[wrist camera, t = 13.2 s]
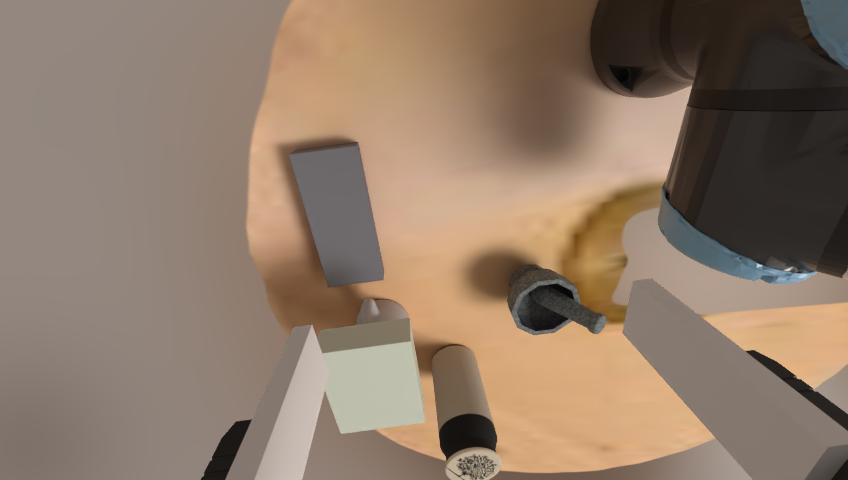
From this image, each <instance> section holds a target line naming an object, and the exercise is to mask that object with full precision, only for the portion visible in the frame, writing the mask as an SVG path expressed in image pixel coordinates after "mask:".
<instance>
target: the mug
mask: <svg viewBox="0 0 848 480" xmlns="http://www.w3.org/2000/svg"><path fill="white" fill-rule="evenodd" d="M404 318H409V316H408V314H407V311H406V310H405V309H404V307H402V306H401V305H400V304H398V303H396V302H394V301H391V300H385V299H381V300H375V301H374V300H373V299H372V298H366V299H365V300H364V301H363V303H362V305H361V310H360V311H359V313H358V316H357V320H356V325H360V324H367V323H375V322H382V321H389V320H397V319H404Z"/></svg>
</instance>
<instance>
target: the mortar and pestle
mask: <svg viewBox="0 0 848 480" xmlns="http://www.w3.org/2000/svg"><path fill="white" fill-rule="evenodd" d="M509 284H510V287H511V291H510V293H509V296H508V299H507V302H508V306H509V309H510V312H511V314H512V316H513V319H514V321H515V323H516V325H517V328H519V329H521V330H524V331H526V332H528V333H530V334H533V335H539V334H547V333H555V332H556V331H558V330H559V329H561V328H562V327H564V326H565V325H567V324H568V323H570V322H571V321H574V322H576V323H578V324H580V325H583V326H585V327H587V328H588V330H589V331H590V332H592V333H594V334H598V333H600V332H601V331H602V330H603V328H604V327H605V324H606V316H605V315H603V314H601V313H595V312H593V311H592V310H590V309H588V308H587V307H585V306H583V305H582V304H581V302H580V299H579V295H578V292H577V288H576V287H575V286H574V284H573V283H572V282H571V281H569V280H568V279H567V278H565V277H563V276H561V275H560V274H558V273H556V272H554V271H552V270H550V269H543V268H541V267H539V266H537V265H529V266H523V267H521V268H520V269H519V270H517V271H516V272H515V273H513V275H512V278H511V281H510V283H509Z"/></svg>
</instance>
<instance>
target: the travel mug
mask: <svg viewBox="0 0 848 480" xmlns="http://www.w3.org/2000/svg"><path fill="white" fill-rule="evenodd" d="M432 374H433V383H434V392H435V402H436V411H437V420H438V430H439V439H440V447H441V450H442V452H443V453H444V455H445V456H446V464H445V473H446V475H447V476H448V477H449V478H450V479H451V480H488V479H490V478H492V477H493V476H495V475H496V474H497V473H498V472H499V470H500V468H501V465H502V461H501V458H500V456H499V455H498V454H497V453H496V450H495V448H496V443H497V435H496V432H495V428H494V424H493V421H492V417H491V413H490V409H489V406H488V402H487V398H486V395H485V391H484V387H483V384H482V380H481V376H480V373H479V369H478V365H477V361H476V358H475V355H474V353H473V352H472V351H471V350H470V349H468V348H466V347H463V346H449V347H445V348H443V349H441V350H440V351H438V352H437V353H436V354H435V355H434V357H433V359H432Z"/></svg>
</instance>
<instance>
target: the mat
mask: <svg viewBox="0 0 848 480" xmlns="http://www.w3.org/2000/svg"><path fill="white" fill-rule="evenodd" d="M289 158H290V161H291V165H292V168H293V171H294V175H295V178H296V181H297V185H298V188H299V191H300V195H301V198H302V201H303V205H304V208H305V211H306V215H307V218H308V221H309V225H310V228H311V231H312V235H313V238H314V241H315V245H316V248H317V251H318V255H319V258H320V261H321V264H322V268H323V271H324V274H325V278H326V281H327V284H328V287H335V286H342V285H349V284H357V283H364V282H372V281H379V280H383V278H384V268H383V263H382V258H381V253H380V248H379V243H378V238H377V233H376V228H375V223H374V218H373V213H372V208H371V203H370V198H369V193H368V188H367V184H366V179H365V174H364V169H363V164H362V159H361V154H360V149H359V144H358V143H350V144H343V145H335V146H328V147H320V148H313V149H305V150H297V151H294V152H292V153H291V154H289Z"/></svg>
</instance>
